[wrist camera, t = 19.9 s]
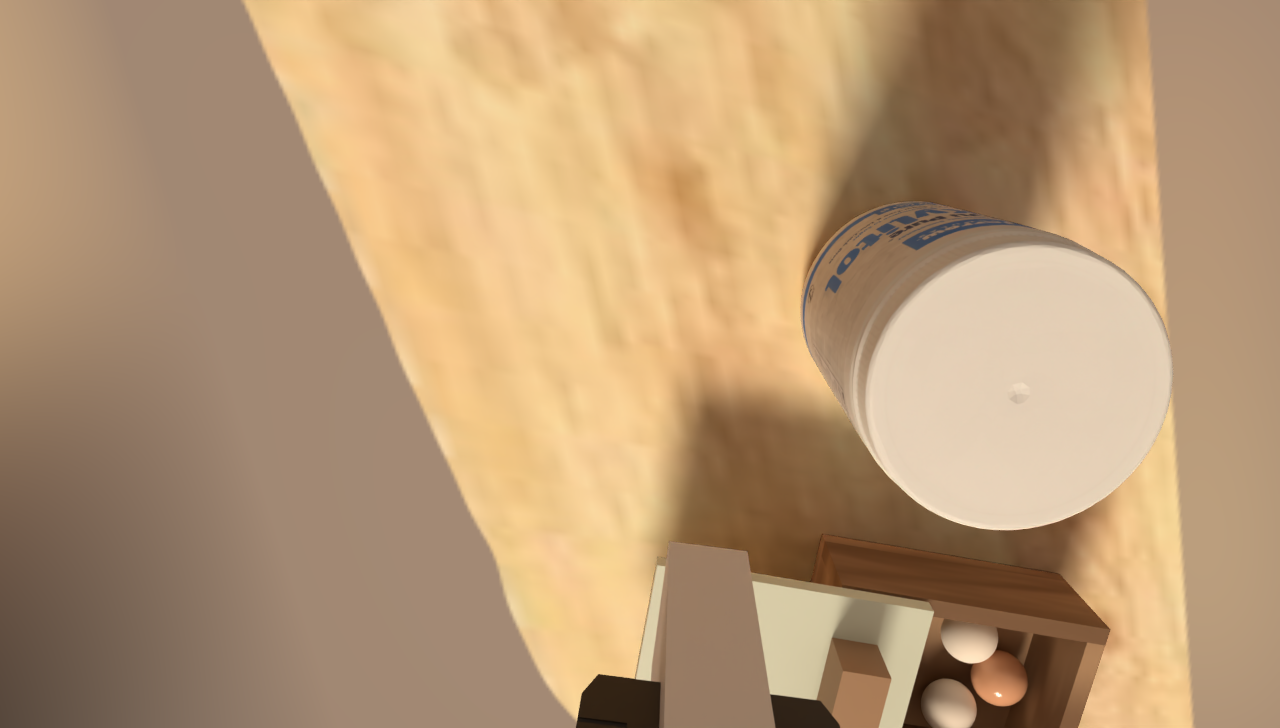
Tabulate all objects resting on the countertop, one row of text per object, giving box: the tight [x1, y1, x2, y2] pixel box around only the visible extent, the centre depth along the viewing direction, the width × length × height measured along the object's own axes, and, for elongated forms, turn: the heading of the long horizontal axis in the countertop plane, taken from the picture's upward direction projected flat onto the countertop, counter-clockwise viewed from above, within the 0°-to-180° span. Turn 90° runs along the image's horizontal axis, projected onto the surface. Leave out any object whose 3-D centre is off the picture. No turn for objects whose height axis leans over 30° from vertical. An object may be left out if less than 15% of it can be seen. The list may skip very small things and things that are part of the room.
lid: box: [635, 557, 934, 728], centre depth 38 cm, size 10×12×3 cm
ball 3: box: [971, 650, 1028, 706], centre depth 43 cm, size 3×3×3 cm
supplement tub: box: [801, 201, 1173, 530], centre depth 33 cm, size 10×10×15 cm
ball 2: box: [921, 679, 977, 728], centre depth 43 cm, size 3×3×3 cm
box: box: [811, 534, 1110, 728], centre depth 42 cm, size 10×12×5 cm
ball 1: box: [941, 619, 998, 663], centre depth 42 cm, size 3×3×3 cm
